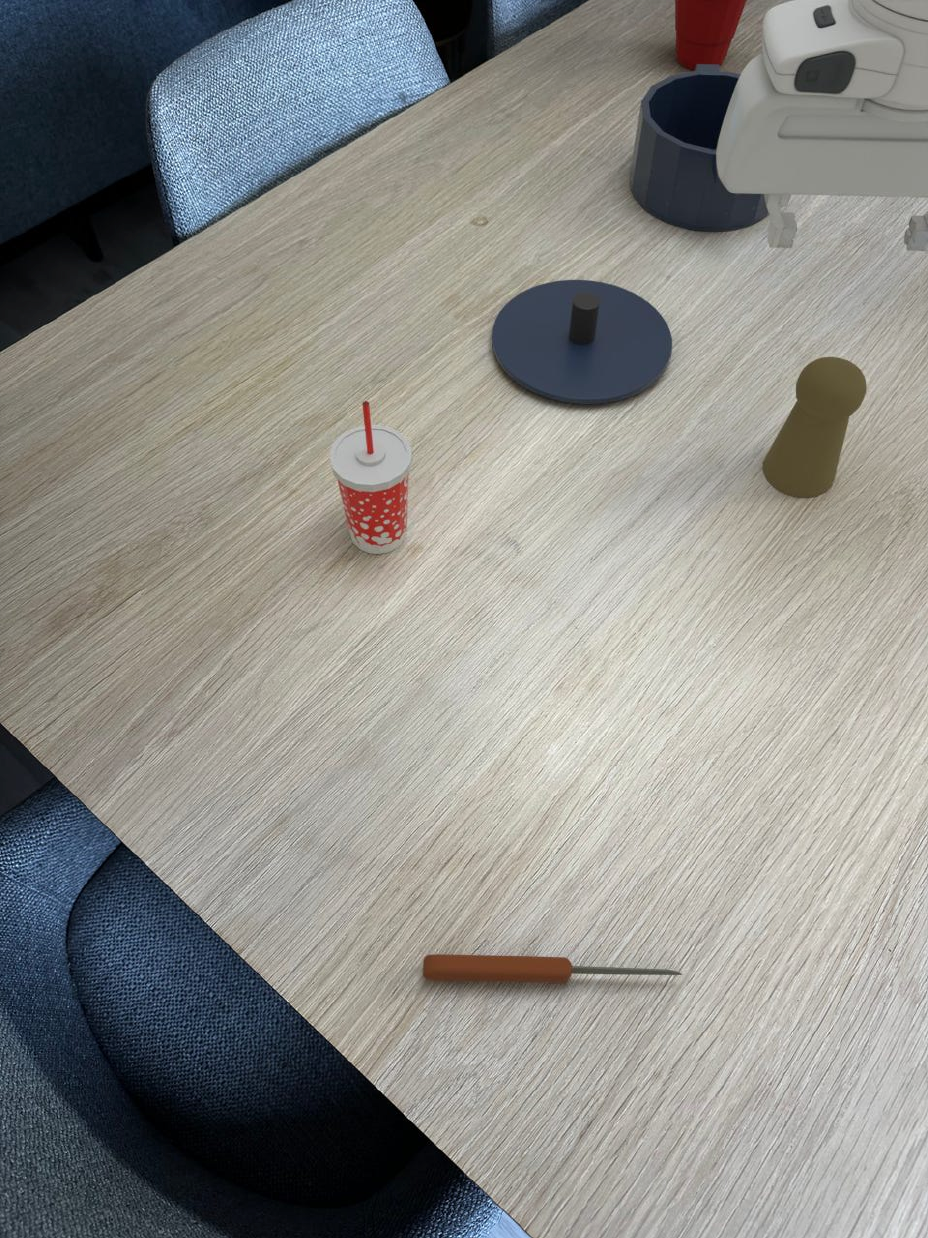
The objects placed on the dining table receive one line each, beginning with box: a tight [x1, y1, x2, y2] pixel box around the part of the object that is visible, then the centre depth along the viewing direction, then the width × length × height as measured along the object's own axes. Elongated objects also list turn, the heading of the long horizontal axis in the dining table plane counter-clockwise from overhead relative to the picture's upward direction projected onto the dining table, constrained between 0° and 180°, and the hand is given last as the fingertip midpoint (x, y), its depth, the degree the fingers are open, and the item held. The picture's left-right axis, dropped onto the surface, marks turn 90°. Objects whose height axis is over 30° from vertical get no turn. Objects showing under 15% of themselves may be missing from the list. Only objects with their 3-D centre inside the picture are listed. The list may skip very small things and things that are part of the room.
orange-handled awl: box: [422, 953, 683, 985], centre depth 63 cm, size 16×1×2 cm, turn 89°
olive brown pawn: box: [762, 356, 868, 499], centre depth 83 cm, size 6×6×11 cm
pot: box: [629, 64, 769, 233], centre depth 108 cm, size 16×21×8 cm
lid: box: [491, 279, 673, 405], centre depth 94 cm, size 17×17×5 cm
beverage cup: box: [328, 400, 413, 555], centre depth 78 cm, size 6×6×14 cm
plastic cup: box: [674, 0, 748, 71], centre depth 122 cm, size 11×11×12 cm
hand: (847, 244), depth 72 cm, fingers open, 8 cm apart
